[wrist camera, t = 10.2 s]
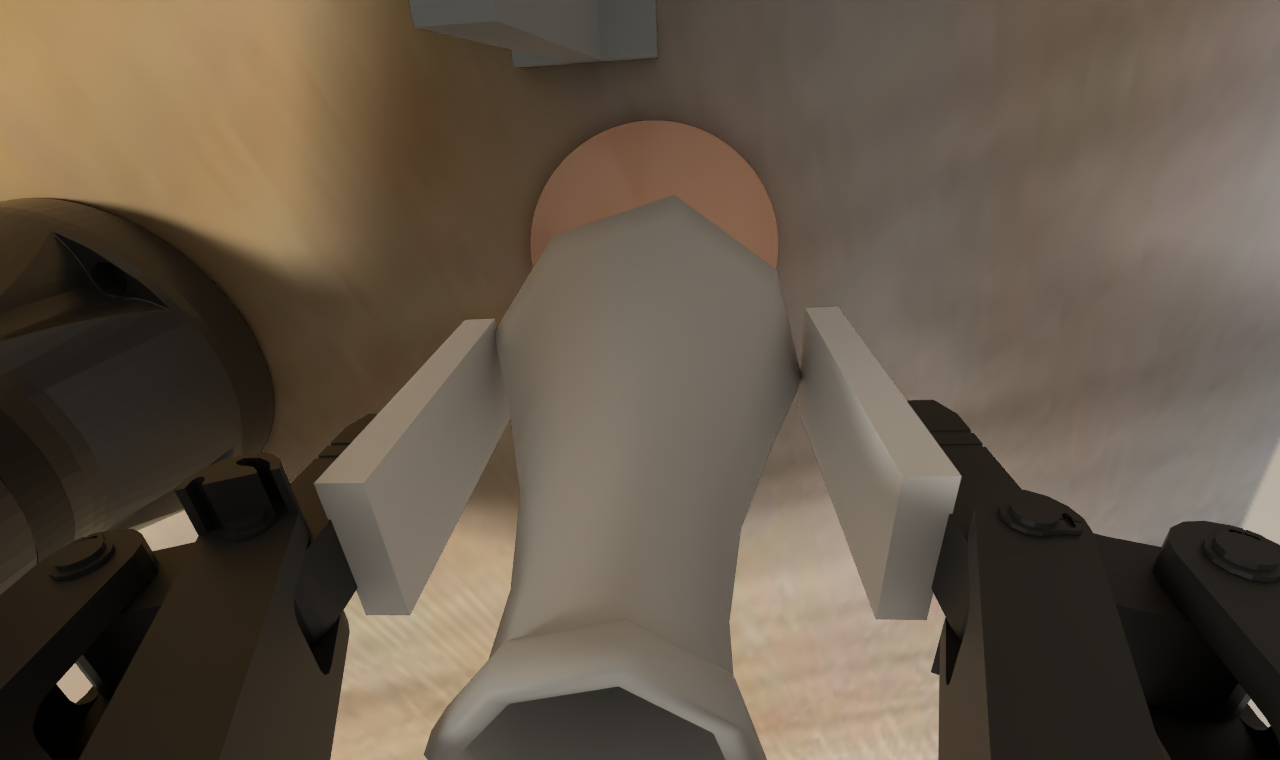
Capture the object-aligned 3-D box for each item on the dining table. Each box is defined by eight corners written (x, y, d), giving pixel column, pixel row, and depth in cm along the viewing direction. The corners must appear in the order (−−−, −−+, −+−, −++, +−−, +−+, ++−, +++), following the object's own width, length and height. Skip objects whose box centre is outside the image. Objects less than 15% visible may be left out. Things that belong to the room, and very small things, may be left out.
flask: (623, 506, 17) (560, 988, 8) (447, 318, 14) (59, 705, 5) (849, 380, 14) (1130, 861, 5) (684, 129, 12) (702, 254, 3)
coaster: (550, 365, 26) (547, 370, 26) (515, 128, 21) (511, 129, 21) (770, 358, 25) (772, 364, 25) (783, 111, 21) (785, 112, 20)
